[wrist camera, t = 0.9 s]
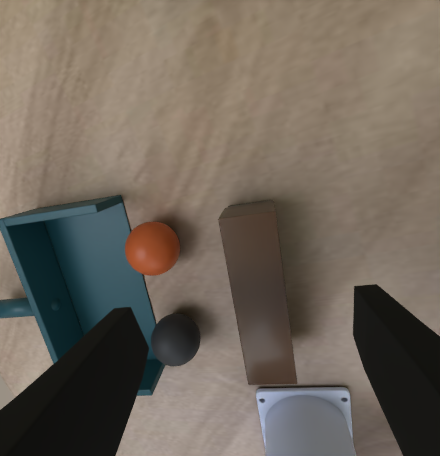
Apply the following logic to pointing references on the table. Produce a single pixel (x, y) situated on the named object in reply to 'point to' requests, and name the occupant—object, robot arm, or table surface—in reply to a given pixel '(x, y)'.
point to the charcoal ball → (175, 339)
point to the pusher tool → (77, 274)
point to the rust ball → (152, 248)
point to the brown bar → (259, 291)
